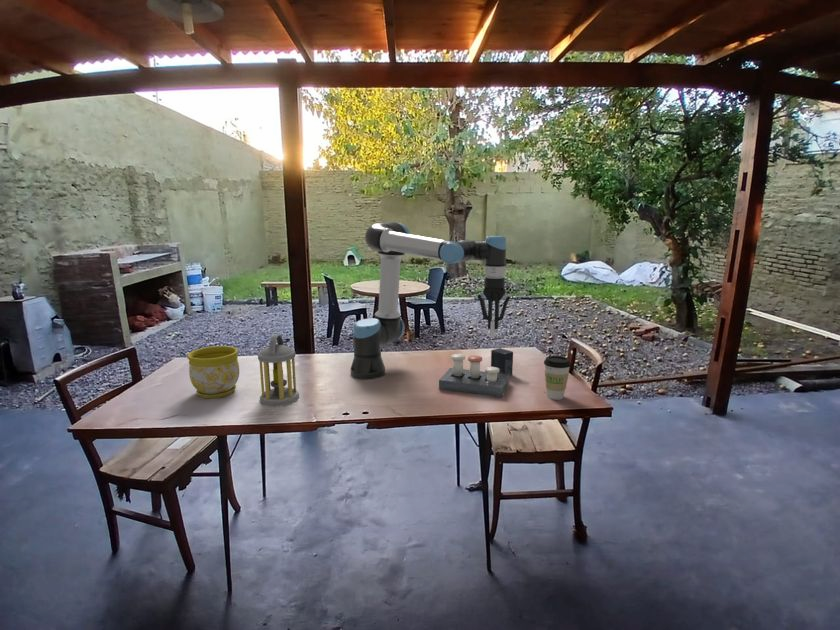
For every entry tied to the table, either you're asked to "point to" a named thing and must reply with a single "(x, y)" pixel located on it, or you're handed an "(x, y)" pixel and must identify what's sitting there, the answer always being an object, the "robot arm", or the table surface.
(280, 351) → the lantern
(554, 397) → the coffee cup
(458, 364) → the knob
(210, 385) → the flowerpot
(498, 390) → the mount
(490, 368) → the knob
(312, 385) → the table surface
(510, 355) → the box
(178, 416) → the table surface
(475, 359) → the knob mid
